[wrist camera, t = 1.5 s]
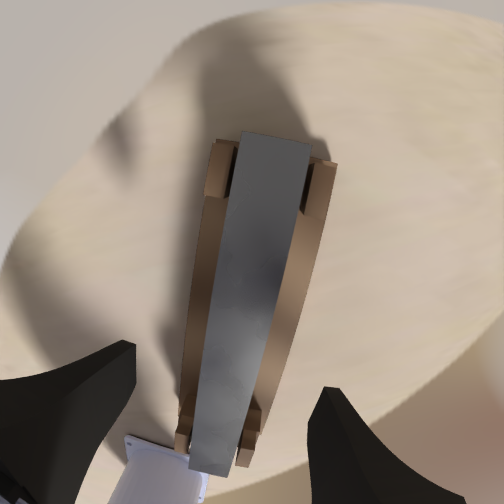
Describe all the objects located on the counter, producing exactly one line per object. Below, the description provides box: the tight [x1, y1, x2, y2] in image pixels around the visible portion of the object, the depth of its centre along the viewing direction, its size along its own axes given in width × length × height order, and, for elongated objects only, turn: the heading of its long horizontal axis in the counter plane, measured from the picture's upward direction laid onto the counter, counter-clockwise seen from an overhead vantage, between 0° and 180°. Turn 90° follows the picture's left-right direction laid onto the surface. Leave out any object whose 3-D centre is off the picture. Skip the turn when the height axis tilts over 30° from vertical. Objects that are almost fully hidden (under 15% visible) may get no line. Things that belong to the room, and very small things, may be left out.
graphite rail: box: [188, 131, 312, 478], centre depth 13 cm, size 18×2×2 cm, turn 169°
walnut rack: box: [174, 139, 338, 468], centre depth 15 cm, size 18×6×5 cm, turn 169°
